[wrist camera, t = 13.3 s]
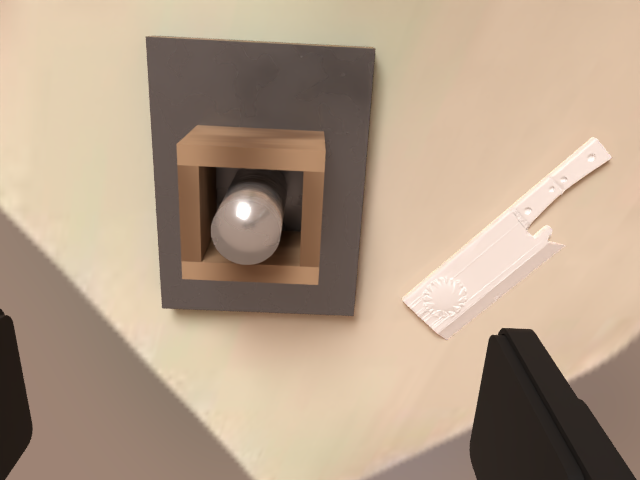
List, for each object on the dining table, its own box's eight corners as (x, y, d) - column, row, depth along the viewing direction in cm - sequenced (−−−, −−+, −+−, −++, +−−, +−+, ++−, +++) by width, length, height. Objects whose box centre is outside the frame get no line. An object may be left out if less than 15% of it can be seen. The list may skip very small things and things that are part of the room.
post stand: (372, 47, 31) (392, 57, 23) (352, 304, 37) (362, 383, 29) (153, 35, 31) (97, 42, 23) (167, 297, 37) (127, 374, 29)
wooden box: (323, 131, 31) (325, 151, 27) (317, 247, 34) (318, 285, 29) (197, 125, 31) (176, 144, 26) (200, 242, 34) (182, 279, 29)
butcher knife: (637, 193, 35) (647, 199, 34) (448, 340, 39) (452, 349, 38) (590, 135, 33) (599, 139, 32) (399, 293, 37) (402, 301, 36)
